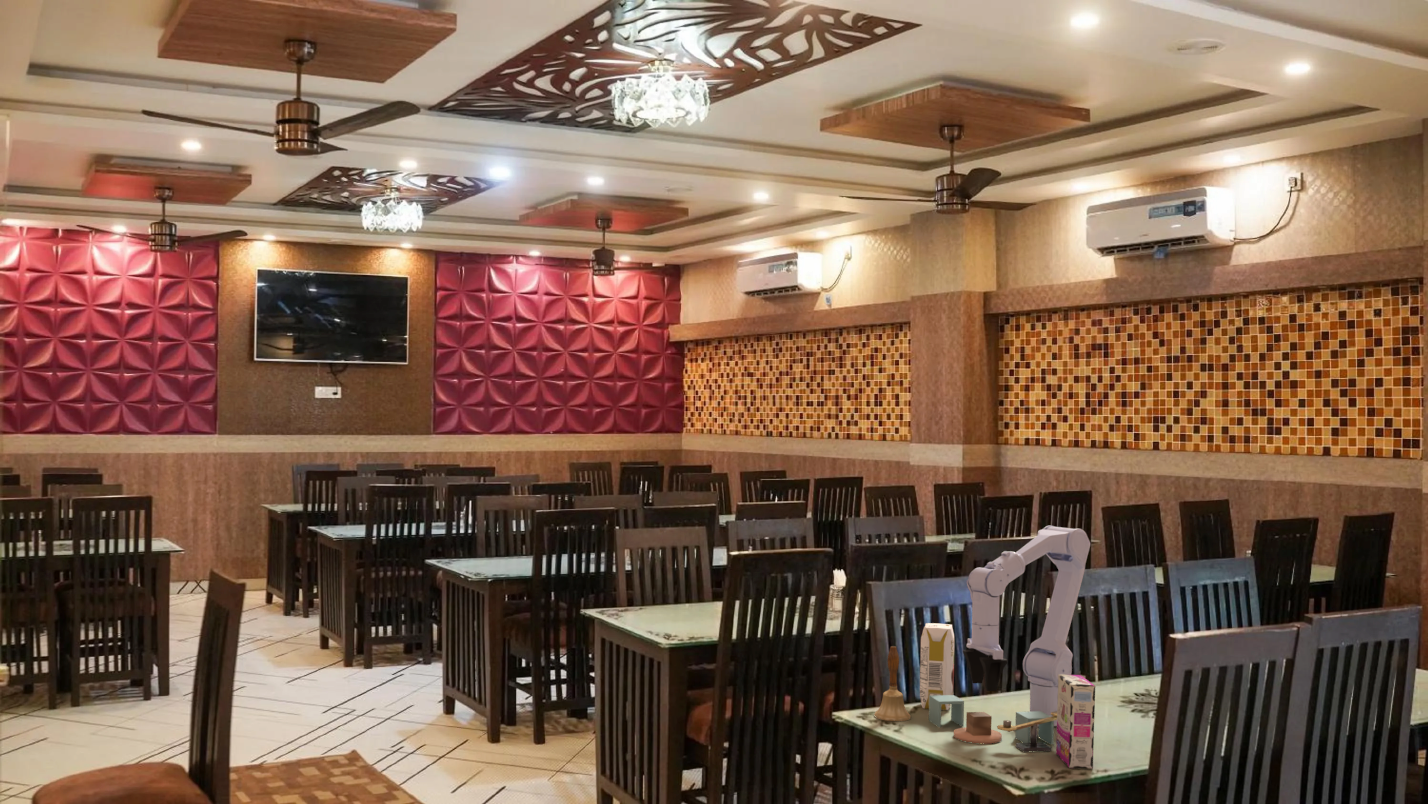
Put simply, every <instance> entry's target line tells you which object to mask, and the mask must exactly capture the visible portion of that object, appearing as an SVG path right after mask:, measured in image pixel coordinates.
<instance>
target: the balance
mask: <svg viewBox="0 0 1428 804" xmlns="http://www.w3.org/2000/svg"><path fill="white" fill-rule="evenodd" d="M1051 715H1052V717H1048V718H1044V719H1040V720H1036V721H1032V722H1028V723H1024V724H1020V725H1016V724H1015V725H1013V724H1012V721H1011V720H1008V719H1007V720H1003V722H1002V724H999V725H996V727H997V728H996V729H997V730H1000V731H1005V732H1009V733H1011V732H1015V731H1016V730H1019V729H1022V728H1026V727H1030V743H1022V742H1016V743H1015V748H1017V749H1018V748H1019V750H1020V749H1021V750H1020V751H1022V752H1023V751H1024V752H1023V753H1030V752H1029V751H1032V752H1031V753H1034V752H1033V751H1043V752H1052V746H1050V745H1049V744H1048V743H1047V744H1046V742H1038V728H1039V727H1038V724H1042V723H1046V722H1050V721H1054V720H1057V711H1054V712H1051Z"/></svg>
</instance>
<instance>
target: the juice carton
mask: <svg viewBox="0 0 1428 804" xmlns="http://www.w3.org/2000/svg"><path fill="white" fill-rule="evenodd" d="M919 663H920V665H919V666H920V667H919V668H920V669H919V671H920V672H919V698H920V703H921V707H922V709H926V710H929V696H933V695H954V677H955V633H954V629H953V624H948V623H934V622H932V623H931V622H930V623H929V622H926V623H925V626H923V629H922V634H921V637H920V662H919ZM950 709H951V704H941V711H949V710H950Z"/></svg>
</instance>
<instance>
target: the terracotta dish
mask: <svg viewBox="0 0 1428 804" xmlns="http://www.w3.org/2000/svg"><path fill="white" fill-rule="evenodd" d="M1002 736H1003V734H1002V733H1001V732H1000V731H997V730H994V729H991V735H982V736H973V735H971V734H970V733H968V732H967V731H966V726H965V727H959V728H956V729H954V730H953V738H954V737H955V738H954V739H956V740H957V739H959V740H958V741H960V740H962V741H961V742H964V741H966V742H965V743H968V742H972V743H971V744H976V743H979V744H980V743H982V744H980V745H991V744H992V743H993V744H998V743H1001V742H1002V741H1003V740H1002V739H1003V737H1002ZM997 742H998V743H997ZM983 743H984V744H983ZM979 744H978V745H979Z"/></svg>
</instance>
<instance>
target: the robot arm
mask: <svg viewBox="0 0 1428 804" xmlns="http://www.w3.org/2000/svg"><path fill="white" fill-rule="evenodd" d="M1036 534H1037V535H1036V536H1035V537H1034V538H1032V539H1030V541H1028V542H1027V543H1026V544H1025V545H1024V546H1022V547H1021V548H1020V549H1018V550H1017V551H1016V552H1015V551H1011V550H1010V551H1007V550H1004V551H1003V552H1001V553H1000V554H1001V555H1000V556H998V557H997V558H995V559H994V560H993V561H989V562H987V563H986V565H985V566H984V567H976V568H974V569H973V570H972V571H971V572H970V573H969V574H968V579H966V585H967V589H968V590H969V592H970V593H969V594H970V599H971V602H972V603H971V604H972V606H971V607H972V608H971V610H972V611H971V612H972V613H971V618H972V619H971V637H970V638H967V643H966V648H968V649H963V651H962V653H963V655H964V657H965V660H966V662H967V666H968V668H969V670H968V671H969V673H970V679H971V683H972V684H983V681H984V685H985V690H986V691H987V692H997V690H998V687H999V683H1000V678H1001V677H1002V676H1001V675H1002V673H1003V670H1004V669H1005V667H1006V665H1007V664H1008V659H1007V658H1005V657H1004V650H1003V649H1002V648H1001V646H1000V643H999V639H1000V638H999V636H1000V597H1001V595H1003V593H1004V592H1005V590H1006V587H1007V586H1008V585H1009V583H1011V582H1012V581H1014V580H1016V579H1017V578H1018V577H1020V576H1022V575H1023V574H1024V573H1025V571H1026V566H1027V565H1029V564H1030V563H1032V562H1034V561H1036V560H1038V559H1040V558H1042V557H1043V556H1045V555H1046V556H1047V557H1048V558H1049V560H1050V561H1051V562H1052V563H1053V564H1054V565H1055V566H1056V568H1057V569H1058V573H1057V576H1056V579H1055V584H1054V588H1053V591H1052V595H1051V599H1050V601H1049V602H1050V603H1049V606H1048V611H1047V614H1046V617H1045V618H1046V619H1045V622H1044V625H1043V628H1042V632H1041V636H1040V637H1039V638H1037V639H1035V640H1034V641H1032V642H1031V643H1030V646H1029V649H1028V651H1027V653H1026V654H1025V656H1024V658H1023V660H1022V670H1023V672H1024V674H1025V676H1027V681H1028V682H1029V712H1032V711H1042V712H1043V713H1045V714H1047V715H1049V716H1051V717H1052V715H1051V712H1054V711H1057V703H1058V674H1068V675H1072V671H1073V670H1072V669H1073V667H1072V665H1073V664H1072V662H1073V656H1074V654H1073V652H1072V651H1071V650H1070V649H1069V647H1068V646H1067V644H1066V643H1067V640H1068V639H1067V638H1068V635H1069V630H1070V627H1071V623H1072V620H1073V616H1074V614H1075V613H1074V611H1075V609H1076V605H1077V601H1078V598H1079V597H1078V596H1079V594H1080V589H1081V585H1082V582H1083V578H1084V575H1085V570H1086V563H1087V559H1088V555H1089V552H1090V547H1091V541H1090V539H1089V537H1088V534H1087V532H1086V531H1085V530H1083V529H1082V528H1072V527H1071V528H1070V527H1061V526H1054V525H1046V526H1045V527H1043V528H1042V529H1039V530H1038V531H1037V533H1036ZM1030 722H1032V721H1030ZM1054 727H1057V720H1054ZM1037 728H1039V724H1038V727H1037Z"/></svg>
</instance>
